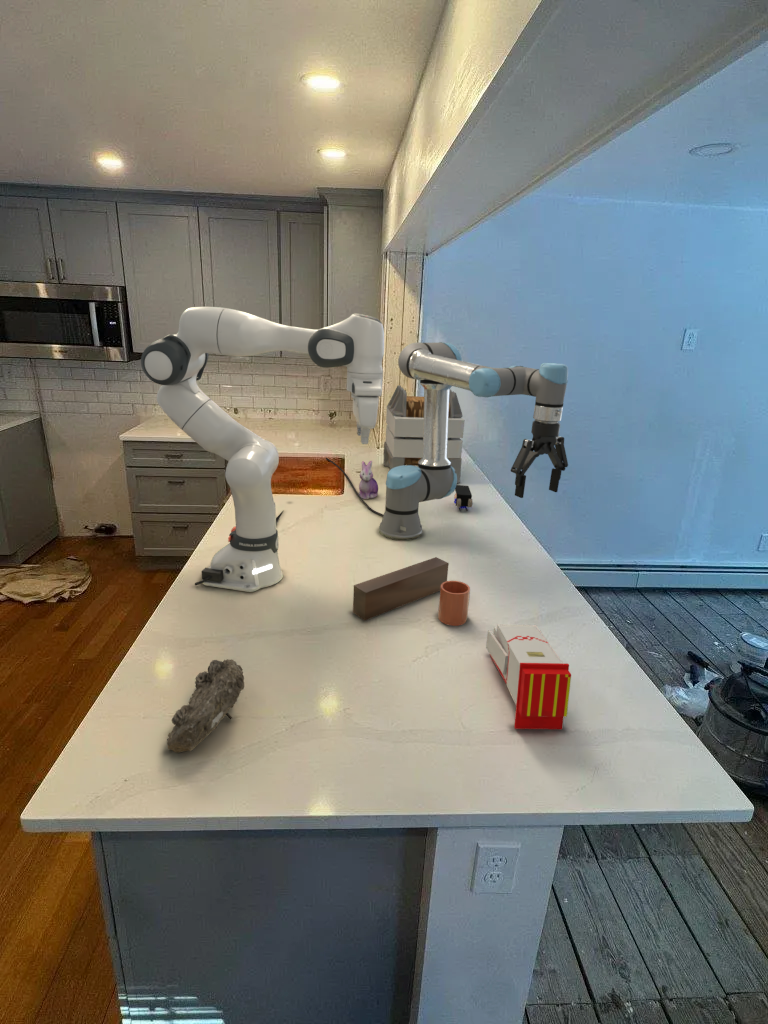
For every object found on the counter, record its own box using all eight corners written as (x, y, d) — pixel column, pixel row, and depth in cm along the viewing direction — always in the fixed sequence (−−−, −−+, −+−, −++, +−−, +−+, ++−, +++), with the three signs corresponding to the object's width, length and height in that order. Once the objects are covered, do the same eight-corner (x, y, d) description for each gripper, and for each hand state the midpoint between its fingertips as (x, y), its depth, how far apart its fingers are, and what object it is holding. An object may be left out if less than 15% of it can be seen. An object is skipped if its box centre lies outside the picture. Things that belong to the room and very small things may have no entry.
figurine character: (472, 516, 224) (466, 500, 237) (474, 499, 220) (469, 483, 234) (455, 515, 224) (451, 499, 237) (457, 498, 220) (452, 483, 234)
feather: (290, 505, 227) (293, 501, 226) (273, 528, 200) (276, 524, 200) (286, 502, 226) (289, 498, 226) (269, 525, 200) (272, 521, 199)
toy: (533, 609, 133) (580, 670, 104) (528, 661, 136) (573, 736, 107) (482, 608, 133) (514, 669, 103) (478, 661, 135) (509, 735, 106)
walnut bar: (352, 612, 147) (353, 585, 144) (434, 581, 166) (436, 556, 163) (364, 620, 144) (365, 592, 141) (446, 588, 162) (448, 562, 160)
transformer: (382, 463, 289) (386, 382, 275) (445, 464, 293) (451, 384, 279) (390, 482, 257) (394, 392, 243) (460, 483, 261) (468, 394, 247)
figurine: (363, 500, 232) (364, 465, 227) (352, 493, 240) (353, 459, 235) (383, 498, 236) (385, 463, 231) (372, 491, 244) (373, 457, 239)
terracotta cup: (432, 616, 147) (434, 585, 144) (451, 608, 152) (454, 578, 149) (453, 629, 142) (456, 597, 139) (472, 619, 146) (476, 588, 143)
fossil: (192, 660, 117) (244, 628, 112) (224, 691, 120) (276, 661, 115) (142, 746, 98) (202, 712, 93) (182, 779, 101) (242, 748, 96)
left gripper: (348, 378, 149) (346, 430, 153) (355, 389, 130) (353, 448, 134) (372, 379, 150) (369, 430, 154) (382, 390, 131) (380, 448, 135)
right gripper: (523, 426, 148) (513, 503, 155) (588, 420, 160) (576, 492, 168) (503, 421, 154) (494, 495, 161) (567, 416, 166) (557, 485, 174)
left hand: (362, 439), depth 144 cm, fingers open, 8 cm apart
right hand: (536, 493), depth 164 cm, fingers open, 13 cm apart
